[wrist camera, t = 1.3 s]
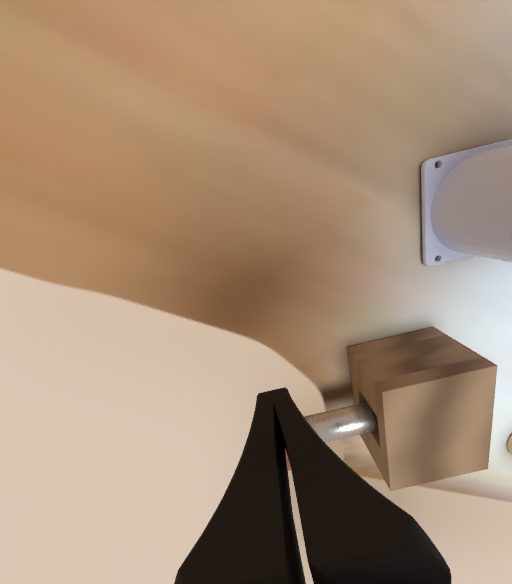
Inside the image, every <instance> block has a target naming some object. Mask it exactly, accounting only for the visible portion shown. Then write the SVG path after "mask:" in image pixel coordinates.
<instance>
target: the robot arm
mask: <svg viewBox="0 0 512 584" xmlns="http://www.w3.org/2000/svg"><path fill="white" fill-rule="evenodd" d="M436 162H437V163H438V166H437V168H435V163H436ZM421 183H422V239H423V263H424V264H425V265H427V266H434V265H438V264H442V263H446V262H451V261H455V260H459V259H463V258H467V257H472V256H476V255H477V256H482V257H487V258H492V259H498V260H503V261H508V262H512V139H509V140H505V141H501V142H497V143H493V144H489V145H485V146H480V147H476V148H472V149H468V150H464V151H460V152H456V153H452V154H448V155H444V156H439V157H435V158H431V159H428V160H425V161H424V162H423V164H422V167H421ZM436 256H438V258H437V260H436V261H435V258H436ZM285 449H286V451H285ZM286 452H287V456H288V459H289V463H290V466H291V470H292V475H293V481H294V486H295V491H296V497H297V502H298V507H299V513H300V519H301V524H302V530H303V536H304V541H305V547H306V553H307V559H308V563H309V567H310V571H311V574H312V578H313V581H314V584H451V573H450V569H449V567H448V565H447V564H446V562H445V560H444V558H443V557H442V555H441V554H440V552H439V551H438V550H437V548H436V547H435V545H434V544H433V543H432V541H431V539H430V538H429V537H428V536H427V534H426V533H425V532H424V530H423V529H422V528H421V527H420V525H419V524H418V523H417V522H416V521H415V519H414V518H413V517H412V516H411V515H409V514H408V513H407V512H405V511H404V510H402V509H401V508H399V507H398V506H397V505H395V504H394V503H393V502H391V501H390V500H389V499H387V498H386V497H385V496H383V495H382V494H381V493H379V492H378V491H377V490H376V489H374V488H373V487H372V486H370V485H369V484H368V483H367V482H366V481H365V480H364V479H362V478H361V477H360V476H359V475H358V474H357V473H356V472H354V471H353V470H352V469H351V468H350V467H349V466H348V465H346V464H345V463H344V462H343V461H342V460H341V459H340V458H339V457H338V456H337V455H336V454H335V453H334V452H333V451H332V450H331V449H330V448H329V447H328V446H327V445H326V443H325V442H324V441H323V440H322V439H321V438H320V437H319V436H318V434H317V433H316V432H315V431H314V430H313V428H312V427H311V426H310V425H309V423H308V422H307V421H306V419H305V418H304V417H303V415H302V414H301V412H300V411H299V410H298V408H297V406H296V405H295V403H294V402H293V400H292V398H291V396H290V394H289V392H288V389H286V388H280V389H276V390H272V391H268V392H263V393H259V394H258V395H257V401H256V408H255V412H254V417H253V421H252V424H251V428H250V432H249V435H248V438H247V441H246V444H245V447H244V450H243V453H242V456H241V458H240V461H239V463H238V466H237V468H236V470H235V473H234V475H233V477H232V479H231V482H230V484H229V486H228V488H227V490H226V492H225V494H224V496H223V498H222V500H221V502H220V504H219V506H218V507H217V509H216V511H215V513H214V514H213V516H212V518H211V520H210V521H209V523H208V525H207V527H206V528H205V530H204V532H203V533H202V535H201V537H200V538H199V539H198V541H197V543H196V544H195V546H194V547H193V549H192V550H191V552H190V553H189V555H188V556H187V558H186V559H185V561H184V562H183V564H182V565H181V567H180V568H179V570H178V573H177V576H176V579H175V583H174V584H306V583H305V577H304V572H303V567H302V562H301V557H300V551H299V546H298V540H297V535H296V530H295V525H294V519H293V512H292V505H291V496H290V488H289V478H288V469H287V460H286Z"/></svg>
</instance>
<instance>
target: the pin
mask: <svg viewBox="0 0 512 584" xmlns="http://www.w3.org/2000/svg"><path fill="white" fill-rule="evenodd" d="M304 418H305V419H306V421H307V422H308V423H309V425H310V426H311V427H312V428H313V430H314V431H315V432H316V433H317V434H318V436H319V437H320V438H321V439H322V440H323V441H324V442H329V441H333V440H338V439H342V438H346V437H351V436H355V435H359V434H364V433H368V432H372V431H377V430H379V429H378V418H377V416H376V414H375V413H374V411H373V410H372V408H371V407H370V405H369V404H368V402H365V403H360V404H356V405H352V406H348V407H343V408H339V409H335V410H330V411H326V412H322V413H318V414H314V415H309V416H305V417H304ZM285 451H286V449H285ZM286 460H287V469H288V471H289V470H291V466H290V463H289V459H288V456H287V452H286Z"/></svg>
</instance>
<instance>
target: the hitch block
mask: <svg viewBox="0 0 512 584" xmlns="http://www.w3.org/2000/svg"><path fill="white" fill-rule="evenodd" d="M347 353H348V360H349V368H350V376H351V383H352V391H353V399H354V405H356V404H360V403H365V402H368V404H369V405H370V407H371V408H372V410H373V411H374V413H375V414H376V416H377V418H378V429H379V430H377V431H372V432H368V433H364V434H360V435H361V437H362V439H363V441H364V443H365V444H366V446H367V448H368V450H369V452H370V454H371V456H372V457H373V459H374V461H375V463H376V465H377V467H378V469H379V470H380V472H381V474H382V476H383V478H384V480H385V482H386V483H387V485H388V487H389V489H390V491H393V490H397V489H401V488H406V487H410V486H415V485H419V484H423V483H428V482H432V481H436V480H441V479H445V478H450V477H454V476H458V475H463V474H467V473H471V472H476V471H480V470H485V469H488V462H489V451H490V440H491V429H492V417H493V406H494V395H495V384H496V373H497V365H496V364H494V363H492V362H491V361H489V360H487V359H486V358H484V357H482V356H481V355H479V354H477V353H476V352H474V351H472V350H471V349H469V348H467V347H466V346H464V345H463V344H461V343H459V342H458V341H456V340H454V339H453V338H451V337H449V336H448V335H446V334H444V333H443V332H441V331H439V330H438V329H436V328H434V327H430V328H426V329H421V330H417V331H413V332H409V333H404V334H400V335H396V336H392V337H387V338H383V339H379V340H375V341H370V342H366V343H362V344H358V345H353V346H349V347H347Z"/></svg>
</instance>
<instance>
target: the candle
mask: <svg viewBox="0 0 512 584" xmlns="http://www.w3.org/2000/svg"><path fill="white" fill-rule="evenodd" d="M507 447H508V450H509V452H510V453H511V454H512V435H511V436H510V438H509V440H508V444H507Z"/></svg>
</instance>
